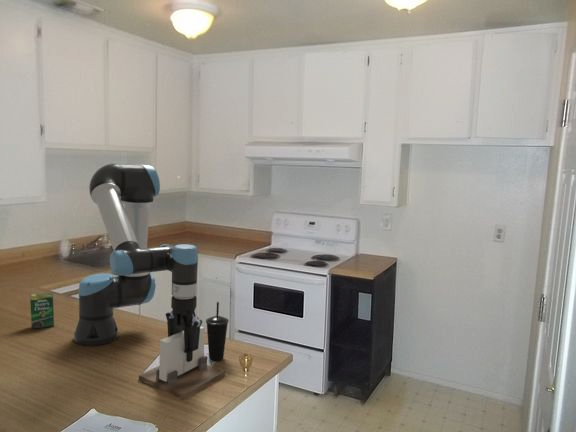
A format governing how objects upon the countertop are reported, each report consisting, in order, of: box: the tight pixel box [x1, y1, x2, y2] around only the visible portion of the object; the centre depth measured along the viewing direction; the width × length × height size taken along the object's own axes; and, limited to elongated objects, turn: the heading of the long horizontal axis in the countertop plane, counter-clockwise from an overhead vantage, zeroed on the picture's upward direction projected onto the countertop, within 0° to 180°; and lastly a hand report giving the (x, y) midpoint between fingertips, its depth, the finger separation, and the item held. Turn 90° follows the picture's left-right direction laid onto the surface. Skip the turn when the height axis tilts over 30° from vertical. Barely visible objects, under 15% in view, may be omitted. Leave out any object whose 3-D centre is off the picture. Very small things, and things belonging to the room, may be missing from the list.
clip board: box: [138, 355, 226, 400], centre depth 142 cm, size 19×18×5 cm
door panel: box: [158, 325, 205, 382], centre depth 141 cm, size 3×16×12 cm, turn 148°
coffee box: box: [29, 292, 55, 330], centre depth 177 cm, size 8×3×13 cm, turn 116°
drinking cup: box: [205, 301, 229, 362], centre depth 156 cm, size 8×8×20 cm
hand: (182, 368), depth 142 cm, fingers closed on door panel, 3 cm apart
